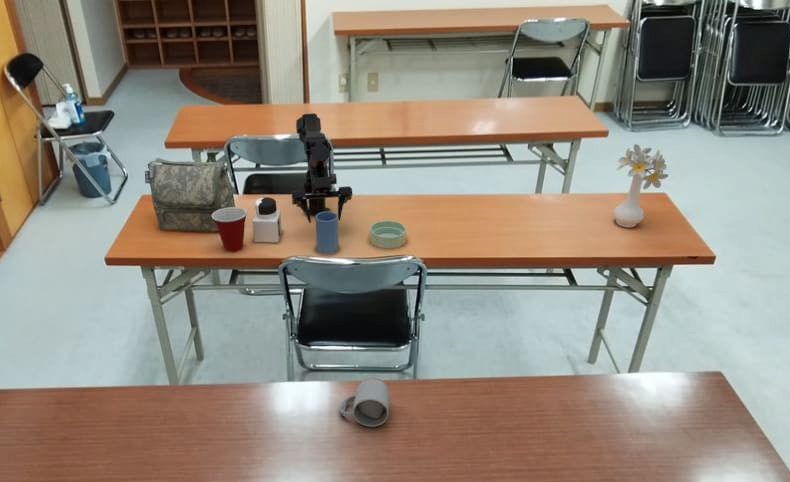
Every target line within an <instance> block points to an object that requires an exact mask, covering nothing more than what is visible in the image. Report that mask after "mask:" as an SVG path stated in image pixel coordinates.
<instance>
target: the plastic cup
mask: <svg viewBox="0 0 790 482" xmlns="http://www.w3.org/2000/svg"><path fill="white" fill-rule="evenodd" d="M247 215H248V211H247V209H245V208H243V207H240V206H239V207H238V206H235V207H229V208H223V209H220V210H217V211H215V212H214V213H213V214H212V218H213V219H214V221H215V223H216V226H217V228H218V231H217V232H218V234H219V237H220V241H221V243H222V246H223V248H224V250H225V251H226V252H231V253H233V252H238V251H240V250H242V249H243V246H244V238H245V227H246V217H247Z"/></svg>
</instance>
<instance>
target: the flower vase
mask: <svg viewBox="0 0 790 482" xmlns="http://www.w3.org/2000/svg"><path fill="white" fill-rule="evenodd" d="M651 151H652V148H651V147H645V148H643V149H642V148H641V146H640V145H639V144H637V143H635V144H634V145H633V150H630V148H629V147H628V148H627V149H626V151H625V156H622V157H619V159H618V161H617V162H618V163H619V166H618V167H617V168H616V171H619V170H621V169H622V168H624V167H626V166H629V167H630V168H631V169H630V170H629V171H628V173H627V176H628V177H630V178H631V177H632V181H631V184H630V187H629V191H628V194H627V196H626V198H625V199H624V200H623V201H622V202H621V203H619V204H618V205H616V207H615V208H614V209H613V212H612V215H613V218H614V219H615V222H616V224H617V225H618V226H620V227H623V228H629V229H630V228H634V227H636V226H637V225H638V224H639V223H641V222H642V221H643V220H644V218H645V211H644V210H643V207H642V206H641V205H640V193H641V189H642V188H643V190H647V189H649V187H650V186H653V187H654V188H656V189H659V188H661V186H662V183H661V181H660V180H665V179H667V178H668V177H669V174H667V173H664V171H665V170H667V164H666V162H665V161H666V159H665V158H664V157H663V154H661V152H660V149H657V151H656V153H655V154H653V156H650V155H648V154H649V153H650V152H651ZM650 170H652V171H653V172H651V171H650ZM647 173H648V175H647ZM643 181H645V183H644V184H643ZM642 184H643V187H642Z"/></svg>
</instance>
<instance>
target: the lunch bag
mask: <svg viewBox="0 0 790 482" xmlns="http://www.w3.org/2000/svg"><path fill="white" fill-rule="evenodd" d="M147 168H148V170H145V171H144V184H149V186H150V194H151V201H152V205H153V209H154V213H155V217H156V221H157V224H158V225H157V226H158V228H159V230H163V231H178V232H206V233H207V232H209V233H210V232H215V233H216V232H219V231H218V228H217V226H216V223H215V221H214V219H213V218H212V214H213V213H214V212H215V211H217V210H220V209H223V208H229V207H236V203H235V195H234V189H233V184H232V183H231V179H230V177H229V173H228V169H227V168H228V165H225V162H224V161H210V162H209V161H207V162H204V161H203V162H202V161H190V160H189V161H181V160H180V161H172V160H167V159H163V158H160V157H157V158H155V159H154V160H151V161H150V162H148V163H147Z"/></svg>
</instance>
